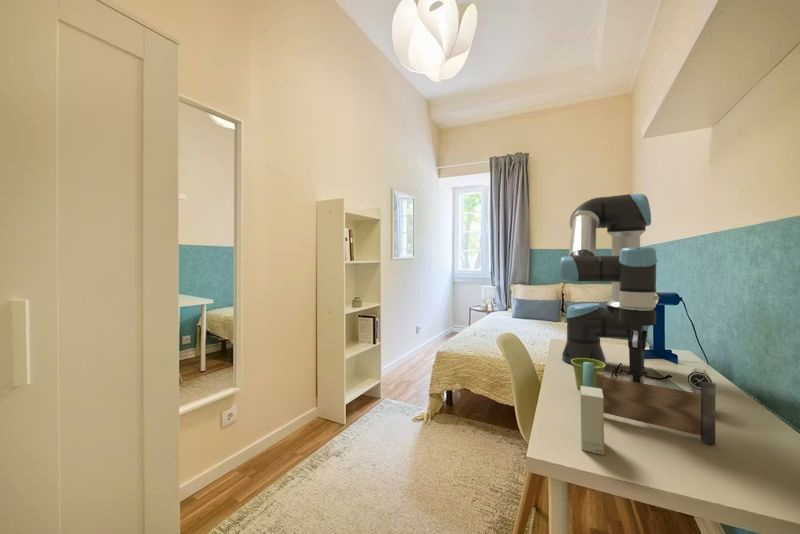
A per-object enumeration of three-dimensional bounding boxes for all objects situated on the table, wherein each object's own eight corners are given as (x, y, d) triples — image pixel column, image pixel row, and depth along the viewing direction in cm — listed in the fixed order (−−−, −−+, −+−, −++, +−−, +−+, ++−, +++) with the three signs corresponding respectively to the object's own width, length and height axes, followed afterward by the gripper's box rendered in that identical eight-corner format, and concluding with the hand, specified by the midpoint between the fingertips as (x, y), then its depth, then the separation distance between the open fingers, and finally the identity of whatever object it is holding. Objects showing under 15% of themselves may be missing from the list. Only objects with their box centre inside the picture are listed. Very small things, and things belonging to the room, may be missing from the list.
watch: (684, 411, 86) (685, 371, 86) (687, 402, 92) (687, 364, 92) (713, 418, 82) (714, 376, 82) (715, 408, 88) (715, 368, 88)
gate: (714, 440, 72) (714, 383, 72) (716, 445, 70) (716, 386, 70) (597, 412, 86) (597, 364, 85) (596, 416, 84) (596, 366, 83)
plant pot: (604, 398, 95) (603, 369, 95) (568, 391, 101) (568, 363, 101) (606, 388, 103) (606, 361, 102) (573, 381, 108) (573, 356, 108)
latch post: (584, 407, 89) (584, 361, 89) (594, 410, 88) (594, 363, 87) (582, 411, 87) (582, 363, 87) (592, 413, 86) (592, 365, 86)
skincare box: (604, 456, 67) (604, 398, 67) (580, 450, 69) (580, 394, 69) (602, 441, 73) (602, 388, 73) (580, 436, 75) (580, 384, 75)
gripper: (654, 312, 74) (654, 413, 75) (657, 306, 84) (657, 395, 84) (615, 309, 79) (615, 404, 80) (622, 304, 89) (622, 388, 89)
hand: (636, 400), depth 82 cm, fingers closed
